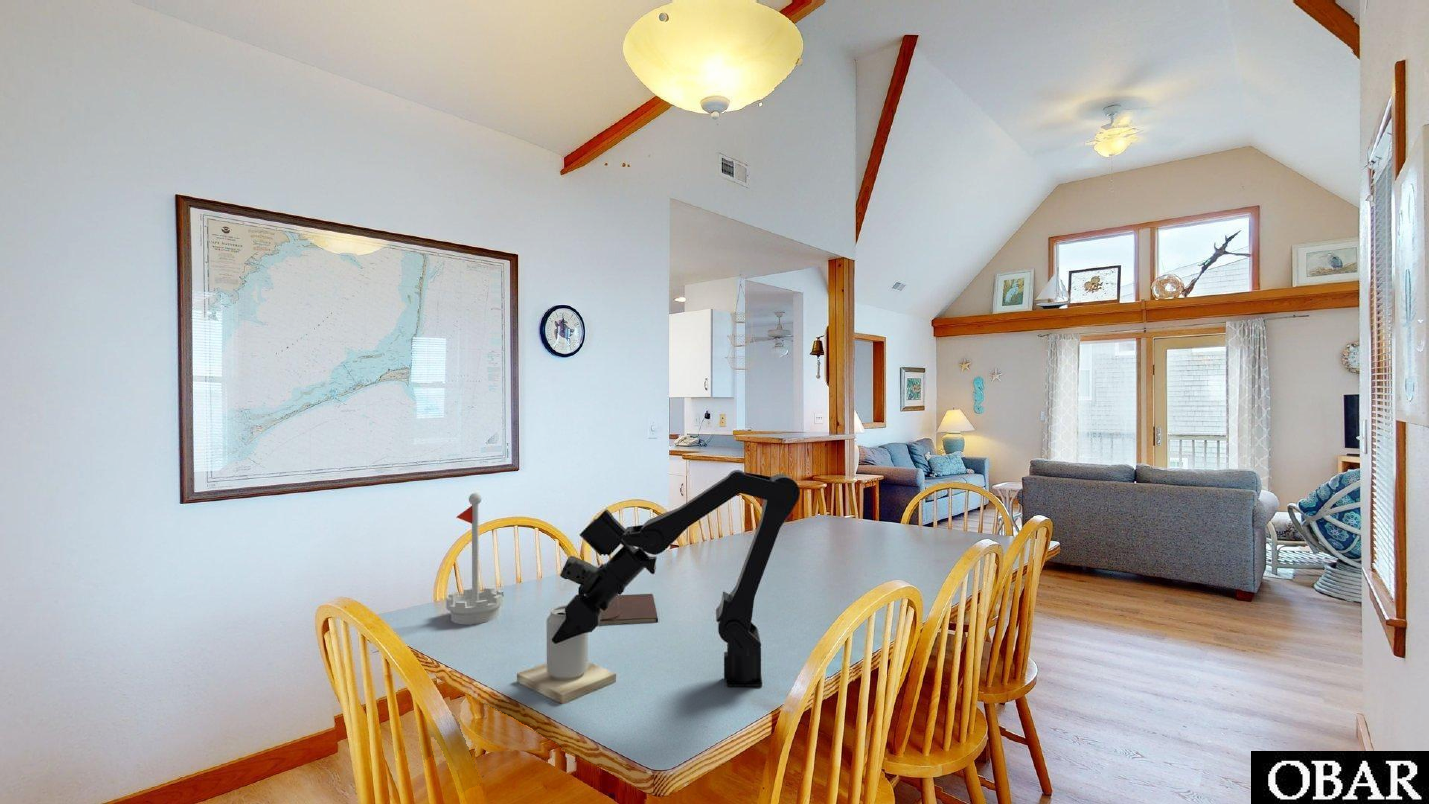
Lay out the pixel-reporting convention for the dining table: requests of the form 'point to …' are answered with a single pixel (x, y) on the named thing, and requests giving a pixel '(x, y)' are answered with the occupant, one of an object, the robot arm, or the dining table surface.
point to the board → (566, 682)
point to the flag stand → (474, 582)
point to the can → (565, 650)
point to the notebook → (630, 610)
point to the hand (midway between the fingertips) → (558, 632)
